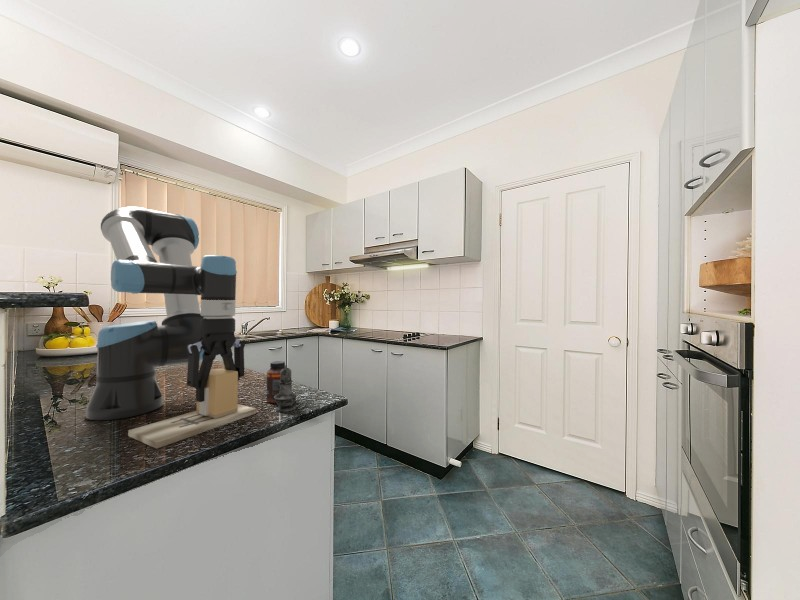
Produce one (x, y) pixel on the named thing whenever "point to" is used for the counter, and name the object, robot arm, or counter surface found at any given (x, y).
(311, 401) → the counter surface
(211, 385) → the block
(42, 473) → the counter surface
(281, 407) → the grey chess piece
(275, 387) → the supplement bottle
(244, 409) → the birch board
